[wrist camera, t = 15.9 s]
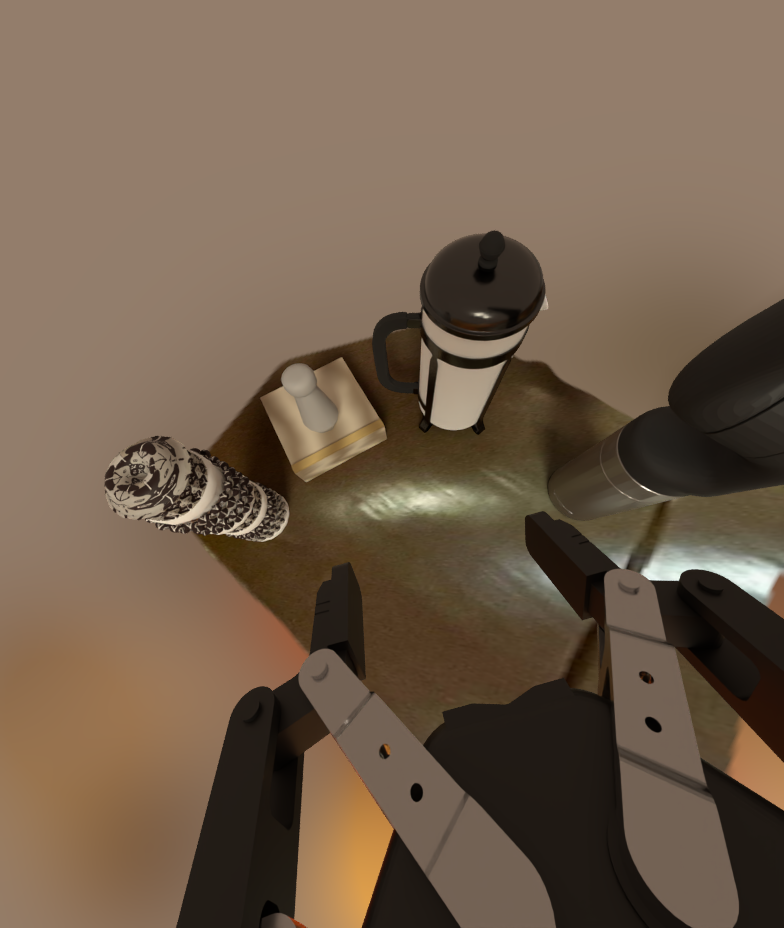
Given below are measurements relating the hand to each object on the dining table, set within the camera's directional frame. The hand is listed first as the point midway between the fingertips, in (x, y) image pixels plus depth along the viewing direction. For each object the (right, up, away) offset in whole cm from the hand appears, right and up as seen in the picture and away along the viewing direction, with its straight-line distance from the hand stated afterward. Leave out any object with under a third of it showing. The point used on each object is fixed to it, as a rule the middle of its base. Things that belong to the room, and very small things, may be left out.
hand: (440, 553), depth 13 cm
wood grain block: (-14, +11, +41) cm, 45 cm away
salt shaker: (-13, +11, +36) cm, 40 cm away
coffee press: (+7, +14, +41) cm, 44 cm away
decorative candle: (-24, -5, +37) cm, 44 cm away
